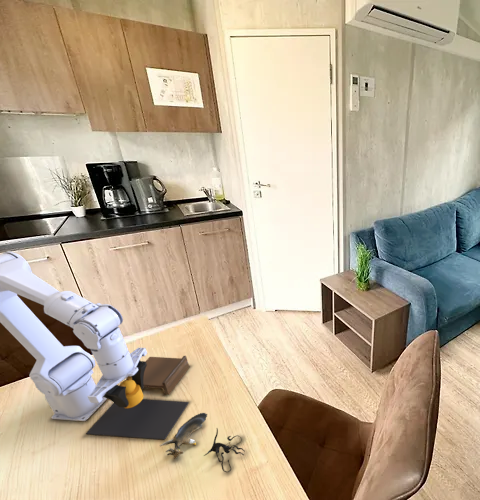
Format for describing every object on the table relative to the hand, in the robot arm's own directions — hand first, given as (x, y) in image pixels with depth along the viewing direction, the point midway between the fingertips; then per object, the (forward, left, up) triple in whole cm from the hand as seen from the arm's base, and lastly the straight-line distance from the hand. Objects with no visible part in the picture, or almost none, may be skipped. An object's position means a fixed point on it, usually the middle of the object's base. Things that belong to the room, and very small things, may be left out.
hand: (131, 397), depth 70 cm
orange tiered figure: (0, 0, -1) cm, 1 cm away
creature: (+27, -7, -8) cm, 29 cm away
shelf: (-3, +12, -8) cm, 15 cm away
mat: (0, 0, -8) cm, 8 cm away
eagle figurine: (+16, -5, -8) cm, 19 cm away
